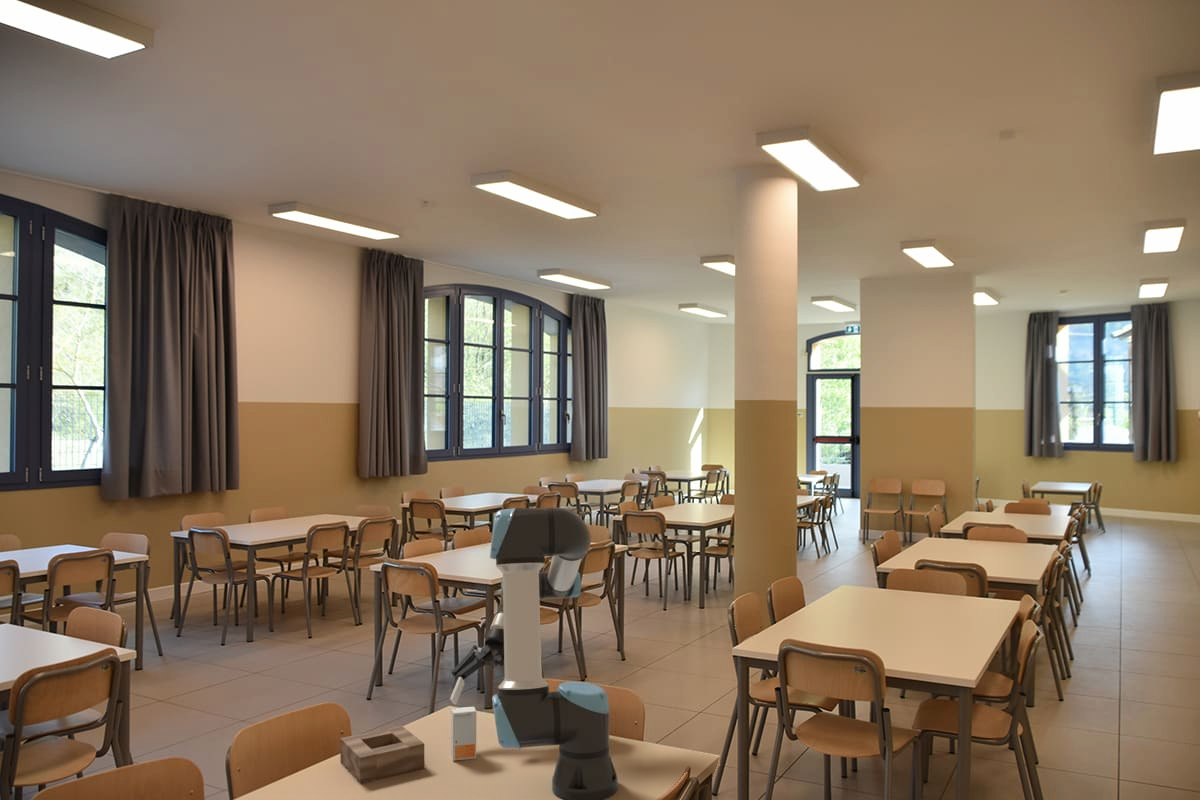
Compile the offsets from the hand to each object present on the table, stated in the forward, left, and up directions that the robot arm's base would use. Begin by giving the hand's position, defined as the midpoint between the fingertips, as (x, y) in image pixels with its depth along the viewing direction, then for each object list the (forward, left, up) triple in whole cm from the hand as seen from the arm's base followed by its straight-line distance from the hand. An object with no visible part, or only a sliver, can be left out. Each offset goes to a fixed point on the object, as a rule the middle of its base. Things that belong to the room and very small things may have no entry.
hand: (475, 704), depth 224 cm
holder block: (+3, +24, -11) cm, 27 cm away
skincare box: (-4, +5, -11) cm, 13 cm away
